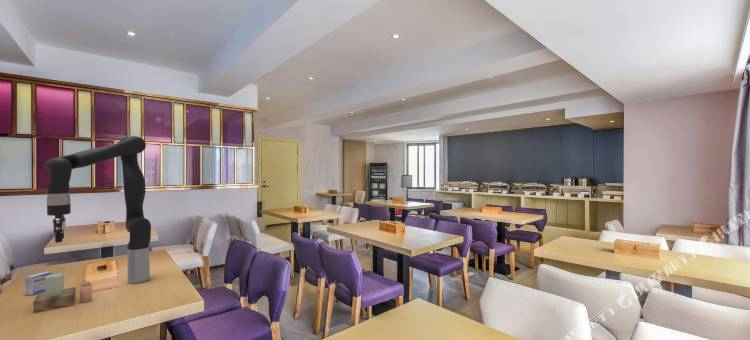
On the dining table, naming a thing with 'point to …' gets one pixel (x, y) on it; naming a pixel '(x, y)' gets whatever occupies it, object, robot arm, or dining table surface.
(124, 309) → the dining table surface
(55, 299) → the walnut block
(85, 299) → the terracotta shaker
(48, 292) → the green block
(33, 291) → the medicine box
